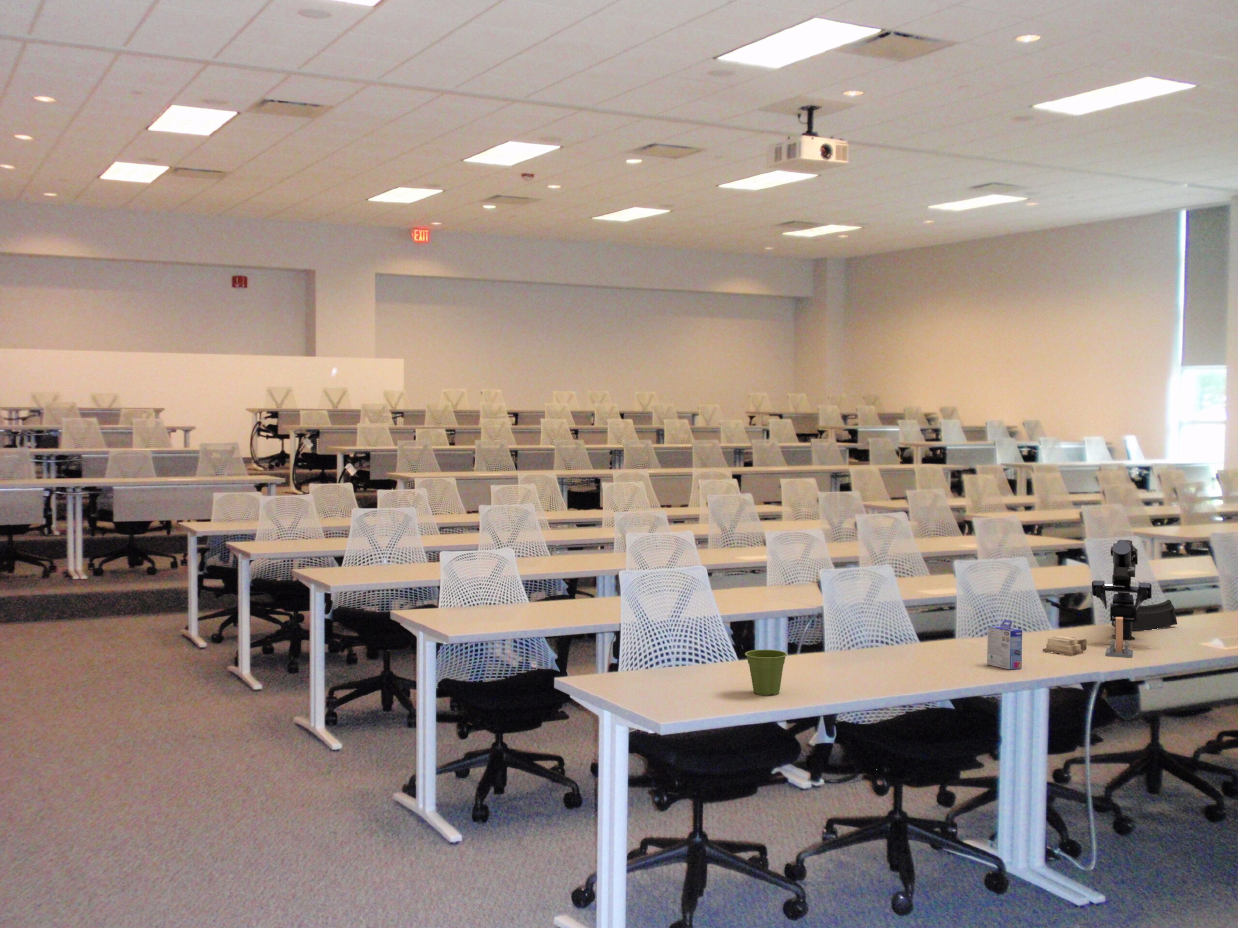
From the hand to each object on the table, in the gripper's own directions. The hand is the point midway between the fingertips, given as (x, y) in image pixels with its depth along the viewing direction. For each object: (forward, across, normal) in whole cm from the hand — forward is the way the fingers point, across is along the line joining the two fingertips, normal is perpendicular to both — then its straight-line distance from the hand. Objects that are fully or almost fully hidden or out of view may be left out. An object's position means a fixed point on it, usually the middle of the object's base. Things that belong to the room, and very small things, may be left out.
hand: (1120, 608), depth 385 cm
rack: (+18, -16, +1) cm, 24 cm away
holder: (+17, 0, +2) cm, 17 cm away
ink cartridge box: (+44, -32, -24) cm, 59 cm away
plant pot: (+91, -87, -72) cm, 145 cm away
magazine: (-23, +6, +43) cm, 49 cm away
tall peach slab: (+16, 0, +1) cm, 16 cm away
